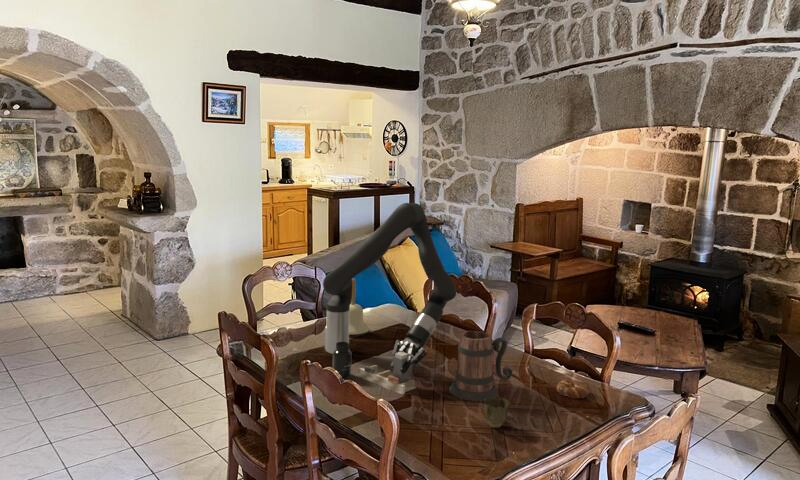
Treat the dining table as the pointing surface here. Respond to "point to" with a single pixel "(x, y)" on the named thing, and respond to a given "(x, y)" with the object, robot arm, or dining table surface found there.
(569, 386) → the bread roll
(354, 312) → the handbell
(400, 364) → the grey tall block
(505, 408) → the cup
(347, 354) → the supplement bottle
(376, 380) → the dock
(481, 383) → the tankard
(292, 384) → the dining table surface
